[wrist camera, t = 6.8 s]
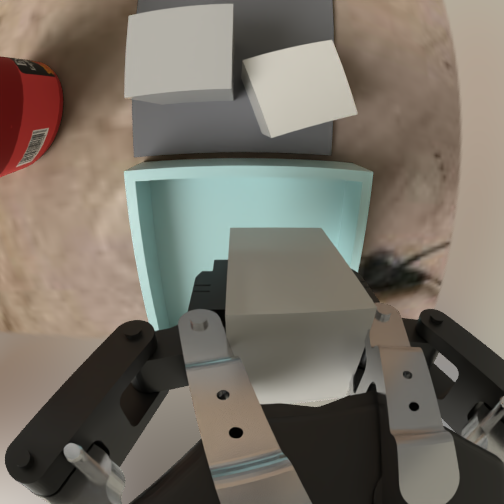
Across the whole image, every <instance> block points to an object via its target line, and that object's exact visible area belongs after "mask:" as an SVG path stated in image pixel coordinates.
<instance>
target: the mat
mask: <svg viewBox="0 0 504 504" xmlns="http://www.w3.org/2000/svg"><path fill="white" fill-rule="evenodd" d="M209 4H233V7H234V36H235V51H234V101H207V102H189V103H175V104H165V105H161V104H156V103H150V102H145V101H139V100H133V99H132V120H133V146H134V157H143V156H155V155H169V154H186V153H212V152H273V153H300V154H317V155H331V150H332V132H333V121H329V122H325V123H321V124H317V125H314V126H310V127H306V128H303V129H300V130H296V131H293V132H289V133H286V134H283V135H280V136H276V137H273V138H270V137H268V136H266V135H264V134H262V133H261V130H260V127H259V124H258V122H257V119H256V116H255V113H254V111H253V108H252V105H251V103H250V100H249V97H248V95H247V92H246V89H245V87H244V84H243V82H242V79H241V73H242V61H243V60H245V59H248V58H252V57H255V56H259V55H262V54H266V53H270V52H274V51H278V50H282V49H286V48H290V47H295V46H300V45H305V44H310V43H315V42H321V41H327V40H332V41H333V43H334V26H333V4H332V0H138V5H137V14H139V13H144V12H150V11H155V10H162V9H169V8H176V7H185V6H195V5H209Z"/></svg>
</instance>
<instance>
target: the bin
mask: <svg viewBox="0 0 504 504" xmlns="http://www.w3.org/2000/svg"><path fill="white" fill-rule="evenodd" d="M124 177H125V188H126V197H127V206H128V214H129V221H130V228H131V235H132V241H133V247H134V253H135V259H136V265H137V270H138V275H139V280H140V285H141V290H142V295H143V299H144V304H145V308H146V312H147V317H148V321H149V323H150V324H151V325H152V326H153V328H154V331H157V330H163V329H168V328H171V327H174V326H176V325H178V321H179V318H180V317H181V316H182V315H183V314H185V313H186V312H188V307H189V303H190V299H191V294H192V290H193V286H194V282H195V277H196V276H197V275H198V274H199V273H201V272H202V271H213V265H214V260H224V259H228V253H229V236H230V228H266V227H278V228H322V229H323V231H324V232H325V234H326V235H327V236H328V238H329V239H330V240H331V242H332V243H333V244H334V246H335V247H336V249H337V250H338V251H339V253H340V254H341V256H342V257H343V258H344V260H345V261H346V263H347V264H348V265H349V267H350V268H351V269H353V270H355V271H356V272H357V273H358V269H359V264H360V259H361V253H362V248H363V242H364V236H365V230H366V224H367V218H368V211H369V204H370V196H371V188H372V180H373V172H372V171H370V170H368V169H365V168H363V167H361V166H358V165H356V164H354V163H348V162H336V161H323V160H306V159H281V158H206V159H182V160H165V161H151V162H142V163H140V164H138V165H136V166H134V167H132V168H129V169H127V170H125V171H124Z"/></svg>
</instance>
